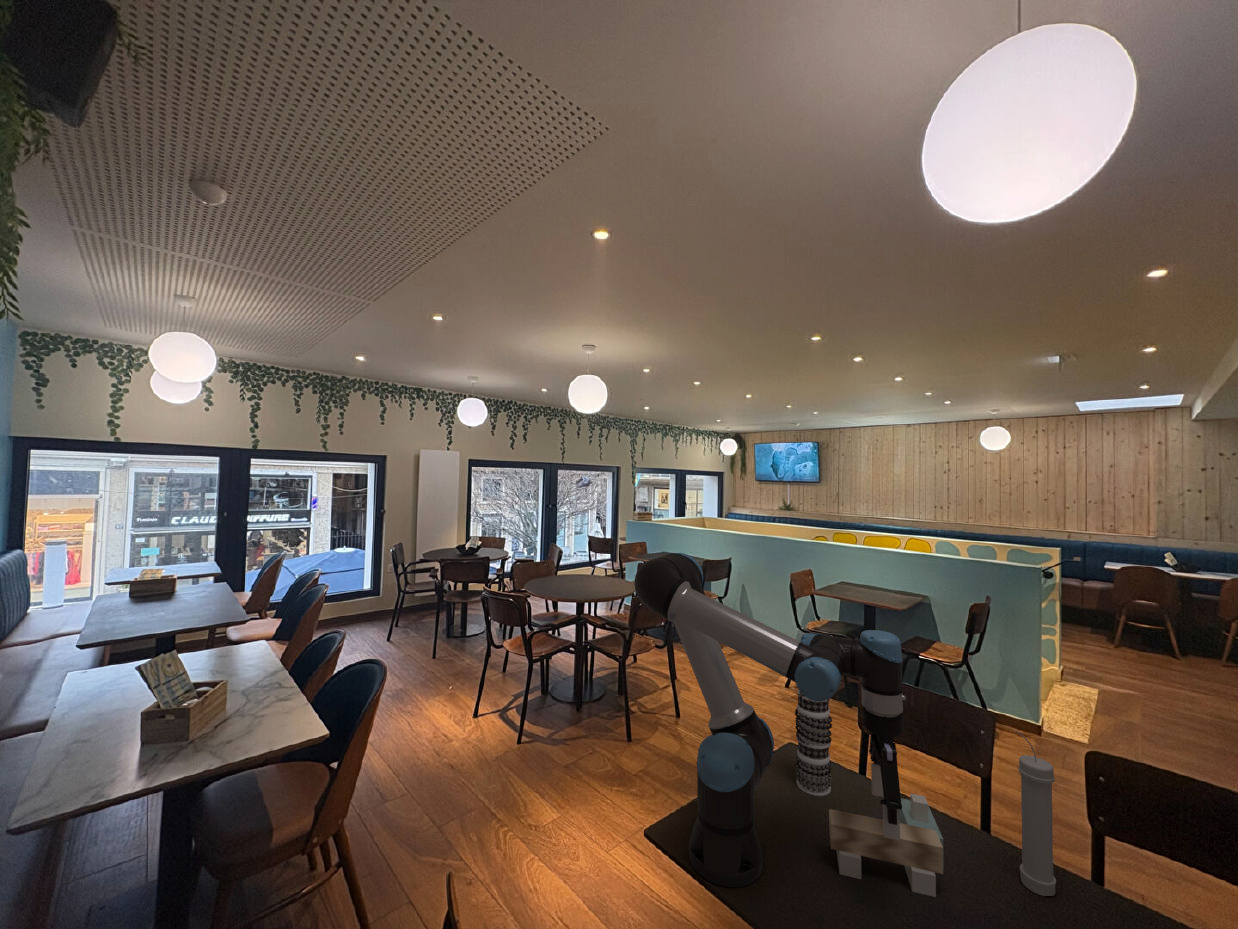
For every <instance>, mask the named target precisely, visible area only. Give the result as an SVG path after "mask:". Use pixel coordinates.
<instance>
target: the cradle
mask: <svg viewBox="0 0 1238 929" xmlns="http://www.w3.org/2000/svg"><path fill="white" fill-rule="evenodd" d="M835 851H836V857H837V858H836V859H837V865H838V872H839V875H841V876H846V877H850V878H853V879H858V880H862V856H861V855H856V854H852V853H847V852H843V851H839V850H835ZM903 867H904V869H905V872H906V875H907V878H908V883H909V886H910V889H911V891H912V893H916V894H920V895H924V896H929V897H932V898H936V897H937V876H936V874H935V873H936V872H931V871H927V870H922V869H918V868H914V867H909V866H905V865H903Z"/></svg>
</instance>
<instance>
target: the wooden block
mask: <svg viewBox="0 0 1238 929" xmlns="http://www.w3.org/2000/svg"><path fill="white" fill-rule="evenodd" d="M828 836H829V841H830V843H829V844H830V849H831V850H835V851H836V850H839V851H843V852H847V853H852V854H856V855H861V857H865V858H870V859H874V860H879V861H883V862H888V863H893V864H897V865H901V866H904V865H905V866H909V867H914V868H918V869H922V870H927V871H931V872H934V873H937V874H941V875H944V869H943V853H944V846H943V847H942V844H941V842H940V840H939V837H938V835H937V833H936V830H931V829H926V828H921V827H916V826H911V825H906V824H901V823H900V840H895V839H889V838H884V835H883V819H881V818H876V817H871V816H866V815H861V814H857V813H851V812H846V811H842V810H838V809H837V810H836V809H832V808H828ZM905 866H904V867H905Z"/></svg>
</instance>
